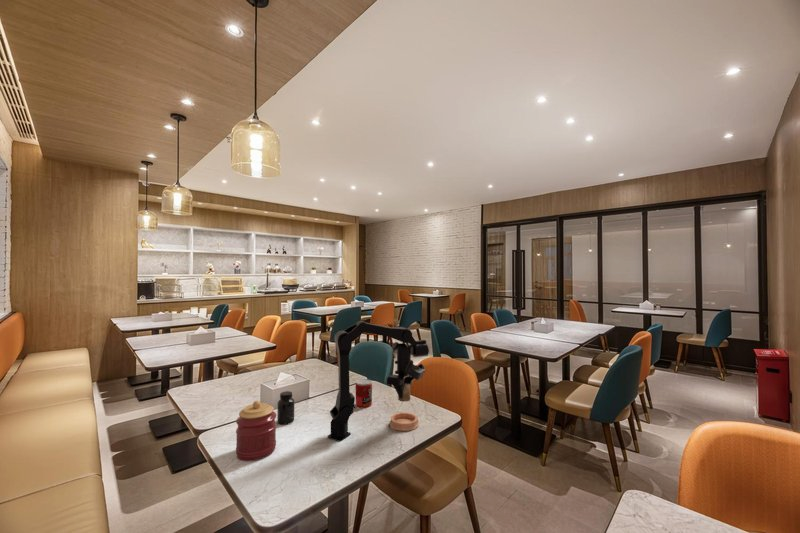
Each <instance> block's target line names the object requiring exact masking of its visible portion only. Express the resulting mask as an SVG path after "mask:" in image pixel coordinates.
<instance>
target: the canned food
mask: <svg viewBox="0 0 800 533" xmlns="http://www.w3.org/2000/svg"><path fill="white" fill-rule="evenodd" d="M372 401H373V382H372V380H371V379H368V378H363V379H362V378H361V379H357V380H355V406H356V407H358V408H362V409H364V408H365V409H366V408H369V407H371V406H372V404H373V402H372Z"/></svg>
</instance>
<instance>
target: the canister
mask: <svg viewBox="0 0 800 533" xmlns="http://www.w3.org/2000/svg"><path fill="white" fill-rule="evenodd" d="M274 410H275V408H274V406H272V405H270V404H268V403H266V402H265V403H264V402H261V401H259V400H255V401H253V402H252V404H249V405H246V406H245V407H244V408H243V409H241V410H239V413H238V417H237V418H236V420H235V423H236V425H237V428H236V430H235V434H236V447H235V454H236V458H238V460H240V461H245V462H252V461H253V462H254V461H258V460H262V459H265V458H268V456H270V455H272V454H273V453H274V452H275V451H276V446H277V438H276V436H277V434H276V426H277V423H276V421H275V420H276V419H277V418H276V417H277V413H276V412H275V411H274Z"/></svg>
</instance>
